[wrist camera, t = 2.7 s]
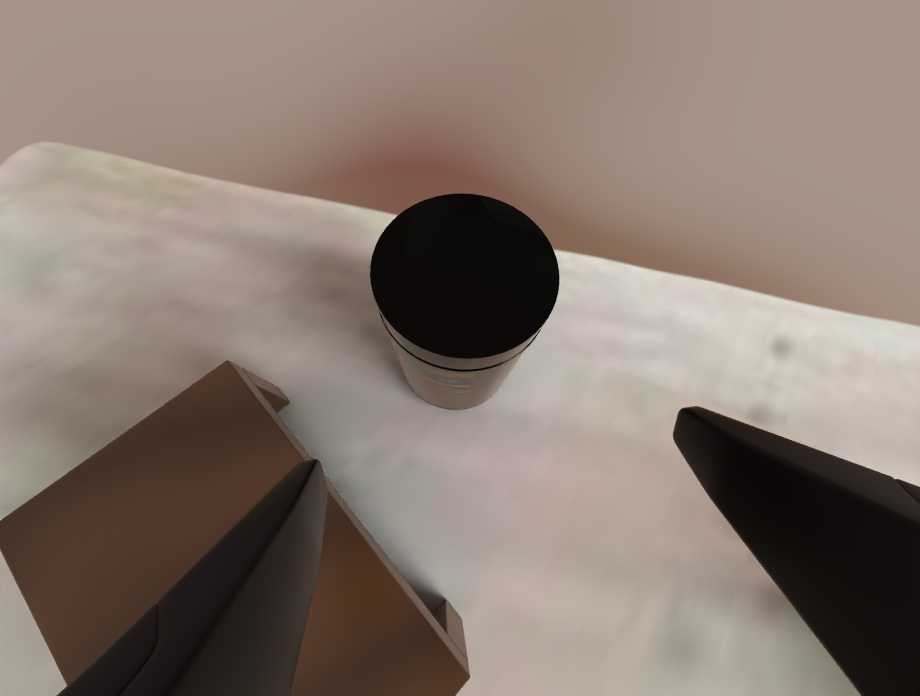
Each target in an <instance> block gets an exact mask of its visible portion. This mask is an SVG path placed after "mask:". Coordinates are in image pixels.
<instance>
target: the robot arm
mask: <svg viewBox="0 0 920 696" xmlns="http://www.w3.org/2000/svg"><path fill="white" fill-rule="evenodd" d="M673 438H674V441H675V444H676V445H677V447H678V448H679V450H680V452H681V453H682V455H683V456H684V458H685V460H686V461H687V463H688V464H689V466H690V467H691V469H692V471H693V472H694V474H695V475H696V477H697V479H698V480H699V482H700V483H701V485H702V487H703V488H704V490H705V491H706V493H707V494H708V496H709V497H710V498H711V500H712V501H713V502H714V504H715V505H716V507H717V508H718V509H719V510H720V512H721V513H722V514H723V516H724V517H725V518H726V520H727V521H728V522H729V524H730V525H731V526H732V527H733V529H734V530H735V531H736V533H737V534H738V535H739V537H740V538H741V539H742V540H743V542H744V543H745V544H746V546H747V547H748V548H749V550H750V551H751V552H752V554H753V555H754V556H755V557H756V559H757V560H758V561H759V563H760V564H761V565H762V567H763V568H764V569H765V571H766V572H767V573H768V574H769V576H770V577H771V578H772V580H773V581H774V582H775V584H776V585H777V586H778V588H779V589H780V590H781V591H782V593H783V594H784V595H785V597H786V598H787V599H788V601H789V602H790V603H791V604H792V606H793V607H794V608H795V610H796V611H797V612H798V614H799V615H800V616H801V618H802V619H803V620H804V621H805V623H806V624H807V625H808V627H809V628H810V629H811V631H812V632H813V633H814V635H815V636H816V637H817V638H818V640H819V641H820V642H821V644H822V645H823V646H824V648H825V649H826V650H827V652H828V653H829V654H830V655H831V657H832V658H833V659H834V661H835V662H836V663H837V665H838V666H839V667H840V669H841V670H842V671H843V672H844V674H845V675H846V676H847V678H848V679H849V680H850V682H851V683H852V684H853V685H854V687H855V688H856V689H857V691H858V692H859V693H860V695H861V696H920V487H918V486H916V485H913V484H910V483H907V482H905V481H902V480H899V479H894V478H892V477H891V476H888V475H885V474H882V473H880V472H877V471H874V470H872V469H869V468H866V467H863V466H861V465H858V464H855V463H852V462H850V461H847V460H844V459H841V458H839V457H836V456H833V455H830V454H828V453H825V452H822V451H819V450H817V449H814V448H811V447H808V446H806V445H803V444H800V443H797V442H795V441H792V440H789V439H787V438H784V437H781V436H778V435H776V434H773V433H770V432H767V431H765V430H762V429H759V428H756V427H754V426H751V425H748V424H745V423H743V422H740V421H737V420H734V419H732V418H729V417H726V416H723V415H721V414H718V413H715V412H713V411H710V410H707V409H704V408H702V407H698V406H693V407H686V408H682V409H681V410H680V411H679V412H678V416H677V419H676V423H675V427H674V431H673ZM327 496H328V488H327V483H326V479H325V476H324V473H323V470H322V466H321V463H320V462H319V460H317V459H311V460H303V461H300V462H298V463H297V464H296V465H295V466H294V467H293V468H292V469H291V470H290V471H289V472H288V473H287V474H286V475H285V476H284V477H283V478H282V479H281V480H280V481H279V482H278V483H277V484H276V485H275V486H274V487H273V488H272V489H271V490H270V491H269V492H268V493H267V494H266V495H265V496H264V497H263V498H262V499H260V500H259V501H258V502H257V503H256V504H255V505H254V506H253V507H252V508H251V509H250V510H249V511H248V512H247V513H246V514H245V515H244V516H243V517H242V518H241V519H240V520H239V521H238V522H237V523H236V524H235V525H234V526H233V527H232V528H231V529H230V530H229V531H228V532H227V533H226V534H225V535H224V536H223V537H222V538H221V539H220V540H219V541H218V542H217V543H216V544H215V545H214V546H213V547H212V548H211V549H210V550H209V551H208V552H207V553H206V554H205V555H204V556H203V557H202V558H201V559H199V560H198V561H197V562H196V563H195V564H194V565H193V566H192V567H191V568H190V569H189V570H188V571H187V572H186V573H185V574H184V575H183V576H182V577H181V578H180V579H179V580H178V581H177V582H176V583H175V584H174V585H173V586H172V587H171V588H170V589H169V590H168V591H167V592H166V593H165V594H164V595H163V596H162V597H161V598H160V599H159V600H158V604H154V605H153V606H152V607H150V608H149V609H148V610H147V611H146V612H145V613H144V614H143V615H142V616H141V617H140V618H139V619H138V620H137V621H136V622H135V623H134V624H133V625H132V626H131V627H130V628H129V629H128V630H127V631H126V632H125V633H124V634H123V635H122V636H121V637H120V638H119V639H118V640H116V641H115V642H114V643H113V644H112V645H111V646H110V647H109V648H108V649H107V650H106V651H105V652H104V653H103V654H102V655H101V656H100V657H99V658H98V659H97V660H96V661H94V662H93V663H92V664H91V665H90V666H89V667H88V668H87V669H86V670H84V671H83V672H82V673H81V674H80V675H79V676H78V677H77V678H76V679H75V680H73V681H72V682H71V683H70V684H69V685H68V686H67V687H66V688H65V689H64V690H62V691H61V692H60V693H59V694H58V695H57V696H290V693H291V688H292V684H293V679H294V675H295V670H296V666H297V661H298V657H299V653H300V648H301V644H302V639H303V635H304V630H305V626H306V622H307V617H308V613H309V608H310V604H311V599H312V595H313V590H314V586H315V582H316V577H317V573H318V568H319V563H320V556H321V549H322V540H323V531H324V522H325V513H326V505H327Z"/></svg>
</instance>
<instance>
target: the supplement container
mask: <svg viewBox="0 0 920 696" xmlns="http://www.w3.org/2000/svg"><path fill="white" fill-rule="evenodd" d="M370 279H371V287H372V291H373V295H374V298H375V301H376V303H377V306H378V310H379V313H380V316H381V319H382V322H383V324H384V326H385V328H386V330H387V331H388V333H389V336H390V339H391V341H392V344H393V347H394V350H395V352H396V355H397V358H398V360H399V363H400V366H401V369H402V371H403V374H404V377H405V379H406V381H407V383H408V384H409V386H410V387H411V388H412V390H413V391H414V392H415V393H416V394H417V395H418V396H419V397H420V398H422V399H423V400H425V401H426V402H428V403H430V404H432V405H434V406H437V407H440V408H444V409H451V410H460V409H467V408H471V407H474V406H477V405H479V404H481V403H483V402H485V401H486V400H488V399H489V398H491V397H492V396H493V395H494V394H495V393H496V392H497V391H498V389H499V388H500V387H501V385H502V384H503V382H504V381H505V379H506V378H507V376H508V375H509V373H510V372H511V370H512V369H513V367H514V366H515V364H516V363H517V362H518V360H519V359H520V357H521V356H522V354H523V353H524V351H525V350H526V349H527V348H528V347H529V345H530V344H531V343H532V342H533V341H534V339H535V338H536V336H537V335H538V333H539V332H540V330H541V328H542V326H543V325H544V323H545V322H546V320H547V319H548V317H549V315H550V314H551V312H552V310H553V307H554V305H555V302H556V299H557V295H558V290H559V268H558V263H557V259H556V256H555V253H554V250H553V248H552V246H551V244H550V242H549V241H548V239H547V237H546V236H545V235H544V233H543V232H542V230H541V229H540V228H539V227H538V226H537V225H536V224H535V223H534V222H533V221H532V220H531V219H530V218H529V217H528V216H526V215H525V214H524V213H522V212H521V211H519V210H518V209H516V208H514V207H513V206H511V205H509V204H507V203H504V202H502V201H499V200H496V199H493V198H490V197H486V196H481V195H475V194H448V195H442V196H437V197H433V198H430V199H427V200H424V201H421V202H419V203H417V204H415V205H413V206H411V207H410V208H408V209H406V210H405V211H403V212H402V213H401V214H399V215H398V216H397V217H396V218H395V219H394V220H393V221H392V222H391V223H390V224H389V225H388V226H387V227H386V229H385V230H384V232H383V233H382V234H381V236H380V238H379V240H378V242H377V244H376V246H375V249H374V252H373V255H372V260H371V266H370Z"/></svg>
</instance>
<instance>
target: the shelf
mask: <svg viewBox="0 0 920 696" xmlns="http://www.w3.org/2000/svg"><path fill="white" fill-rule="evenodd" d="M289 403H290V401H289V400H288V398H287V397H286V396H285V395H284V393H283V392H282V391H281V390H280V388H278V387H276V386H275V385H273V384H271V383H269V382H267V381H265V380H263V379H262V378H260V377H258V376H256V375H254V374H252V373H251V372H249V371H247V370H245V369H243V368H241V367H239V366H238V365H236V364H234V363H232V362H230V361H228V360H227V361H225V362H224V363H223V364H221V365H220V366H218V367H217V368H215V369H214V370H213V371H211V372H210V373H208V374H207V375H206V376H204V377H203V378H201V379H200V380H199V381H197V382H196V383H194V384H193V385H191V386H190V387H189V388H187V389H186V390H184V391H183V392H182V393H180V394H179V395H177V396H176V397H174V398H173V399H172V400H170V401H169V402H167V403H166V404H165V405H163V406H162V407H160V408H159V409H158V410H156V411H155V412H153V413H152V414H150V415H149V416H148V417H146V418H145V419H143V420H142V421H141V422H139V423H138V424H136V425H135V426H133V427H132V428H131V429H129V430H128V431H126V432H125V433H124V434H122V435H121V436H119V437H118V438H116V439H115V440H114V441H112V442H111V443H109V444H108V445H107V446H105V447H104V448H102V449H101V450H100V451H98V452H97V453H95V454H94V455H92V456H91V457H90V458H88V459H87V460H85V461H84V462H83V463H81V464H80V465H78V466H77V467H75V468H74V469H73V470H71V471H70V472H68V473H67V474H66V475H64V476H63V477H61V478H60V479H59V480H57V481H56V482H54V483H53V484H51V485H50V486H49V487H47V488H46V489H44V490H43V491H42V492H40V493H39V494H37V495H36V496H34V497H33V498H32V499H30V500H29V501H27V502H26V503H25V504H23V505H22V506H20V507H19V508H18V509H16V510H15V511H13V512H12V513H10V514H9V515H8V516H6V517H5V518H3V519H2V520H1V521H0V550H1V552H2V554H3V556H4V558H5V560H6V562H7V565H8V567H9V569H10V571H11V573H12V575H13V577H14V579H15V581H16V583H17V585H18V587H19V589H20V591H21V593H22V595H23V597H24V599H25V601H26V603H27V605H28V607H29V609H30V611H31V613H32V615H33V617H34V619H35V621H36V623H37V625H38V627H39V629H40V632H41V634H42V636H43V638H44V640H45V642H46V644H47V646H48V648H49V650H50V652H51V654H52V656H53V658H54V660H55V662H56V664H57V666H58V668H59V670H60V672H61V674H62V676H63V678H64V680H65V682H66V684H67V686H68V685H69V684H70V683H71V682H72V681H73V680H75V679H76V678H77V677H78V676H79V675H80V674H81V673H82V672H83V671H84V670H86V669H87V668H88V667H89V666H90V665H91V664H92V663H93V662H94V661H96V660H97V659H98V658H99V657H100V656H101V655H102V654H103V653H104V652H105V651H106V650H107V649H108V648H109V647H110V646H111V645H112V644H113V643H114V642H115V641H116V640H118V639H119V638H120V637H121V636H122V635H123V634H124V633H125V632H126V631H127V630H128V629H129V628H130V627H131V626H132V625H133V624H134V623H135V622H136V621H137V620H138V619H139V618H140V617H141V616H142V615H143V614H144V613H145V612H146V611H147V610H148V609H149V608H150V607H152V606H153V605H154V604H158V600H159V599H160V598H161V597H162V596H163V595H164V594H165V593H166V592H167V591H168V590H169V589H170V588H171V587H172V586H173V585H174V584H175V583H176V582H177V581H178V580H179V579H180V578H181V577H182V576H183V575H184V574H185V573H186V572H187V571H188V570H189V569H190V568H191V567H192V566H193V565H194V564H195V563H196V562H197V561H198V560H199V559H201V558H202V557H203V556H204V555H205V554H206V553H207V552H208V551H209V550H210V549H211V548H212V547H213V546H214V545H215V544H216V543H217V542H218V541H219V540H220V539H221V538H222V537H223V536H224V535H225V534H226V533H227V532H228V531H229V530H230V529H231V528H232V527H233V526H234V525H235V524H236V523H237V522H238V521H239V520H240V519H241V518H242V517H243V516H244V515H245V514H246V513H247V512H248V511H249V510H250V509H251V508H252V507H253V506H254V505H255V504H256V503H257V502H258V501H259V500H260V499H262V498H263V497H264V496H265V495H266V494H267V493H268V492H269V491H270V490H271V489H272V488H273V487H274V486H275V485H276V484H277V483H278V482H279V481H280V480H281V479H282V478H283V477H284V476H285V475H286V474H287V473H288V472H289V471H290V470H291V469H292V468H293V467H294V466H295V465H296V464H297V463H298V462H300V461H303V460H311V459H312V458H311V457H310V456H309V455H308V453H307V452H306V451H305V449H304V448H303V447H302V445H301V444H300V443H299V442H298V440H297V439H296V438H295V436H294V435H293V434H292V433H291V431H290V430H289V429H288V427H287V426H286V425H285V423H284V422H283V421H282V420H281V418H280V417H279V416H278V414H277V412H279V411H280V410H281V409H282V408H284V407H285V406H286V405H287V404H289ZM324 476H325V475H324ZM325 479H326V483H327V488H328V496H327V505H326V513H325V522H324V531H323V540H322V549H321V556H320V563H319V568H318V573H317V577H316V582H315V586H314V590H313V595H312V599H311V604H310V608H309V613H308V617H307V622H306V626H305V630H304V635H303V639H302V644H301V648H300V653H299V657H298V661H297V666H296V670H295V675H294V679H293V684H292V688H291V693H290V696H455V695H456V694H457V693H458V692H459V691H460V689H461V688H462V687H463V686H464V685H465V683H466V682H467V681H468V680H469V678H470V673H469V666H468V658H467V651H466V644H465V638H464V631H463V624H462V619H461V617H460V616H459V615H458V614H457V612H456V611H455V610H454V609H453V607H452V606H451V605H450V603H449V602H448V601H447V600H445V601H444V602H443V603H442V604H441V606H440V607H439V608H438V609H437V610H436V611H435V612H434V613H433V614H431V613H430V611H429V610H428V609H427V608H426V606H425V605H424V604H423V602H422V601H421V600H420V598H419V597H418V596H417V595H416V593H415V592H414V591H413V589H412V588H411V587H410V585H409V584H408V583H407V582H406V580H405V579H404V578H403V576H402V575H401V574H400V573H399V571H398V570H397V569H396V567H395V566H394V565H393V563H392V562H391V561H390V560H389V558H388V557H387V556H386V554H385V553H384V552H383V550H382V549H381V548H380V547H379V545H378V544H377V543H376V541H375V540H374V539H373V538H372V536H371V535H370V534H369V532H368V531H367V530H366V528H365V527H364V526H363V525H362V523H361V522H360V521H359V519H358V518H357V517H356V515H355V514H354V513H353V512H352V510H351V509H350V508H349V506H348V505H347V504H346V503H345V501H344V500H343V499H342V497H341V496H340V495H339V493H338V492H337V491H336V490H335V488H334V487H333V486H332V484H331V483H330V482H329V480H328V479H327V478H326V477H325Z"/></svg>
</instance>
